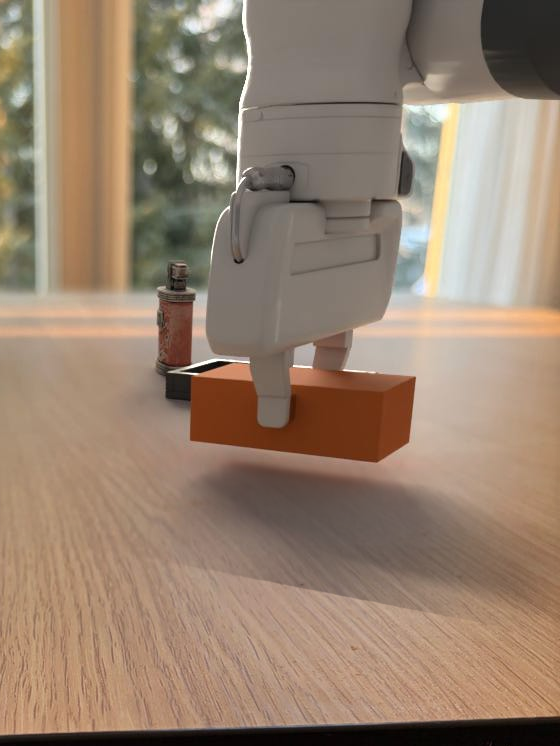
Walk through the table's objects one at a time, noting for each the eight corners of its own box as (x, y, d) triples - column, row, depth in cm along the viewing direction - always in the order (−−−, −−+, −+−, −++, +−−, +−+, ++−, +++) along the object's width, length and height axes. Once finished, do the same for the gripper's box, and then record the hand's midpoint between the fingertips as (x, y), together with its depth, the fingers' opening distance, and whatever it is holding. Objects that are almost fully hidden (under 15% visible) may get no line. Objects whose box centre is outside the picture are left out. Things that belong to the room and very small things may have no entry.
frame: (375, 397, 88) (378, 372, 87) (336, 415, 81) (339, 388, 80) (213, 382, 96) (214, 358, 95) (164, 397, 89) (165, 372, 88)
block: (409, 442, 65) (416, 376, 63) (377, 463, 60) (384, 392, 58) (230, 423, 71) (233, 362, 69) (189, 441, 66) (191, 375, 64)
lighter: (151, 364, 106) (153, 258, 102) (184, 363, 106) (187, 258, 102) (162, 377, 99) (165, 263, 95) (198, 376, 99) (202, 263, 95)
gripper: (297, 164, 50) (280, 454, 55) (424, 167, 65) (401, 392, 71) (179, 167, 53) (174, 441, 58) (327, 169, 69) (312, 385, 74)
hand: (300, 414), depth 65 cm, fingers closed on block, 6 cm apart
